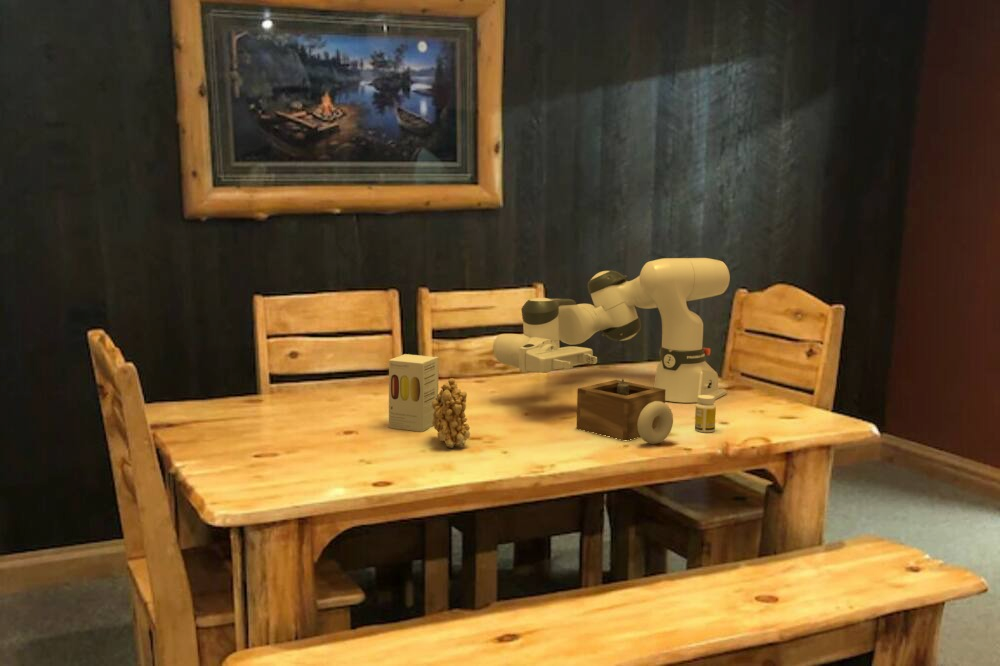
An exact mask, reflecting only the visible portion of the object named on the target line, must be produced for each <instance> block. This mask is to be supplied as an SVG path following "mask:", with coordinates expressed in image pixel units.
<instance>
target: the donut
mask: <svg viewBox="0 0 1000 666" xmlns="http://www.w3.org/2000/svg"><path fill="white" fill-rule="evenodd" d="M656 416H658V418H659V421H658V425H657V427H656V428H655V429H653V428H652V423H653V420H654V418H655V417H656ZM673 425H674V415H673V412H672V409H671V408H670V406H669V405H668V404H667V403H666V402H665V403H663V402H661V401H654V402H652V403H649V404H648V405H646V406H645V407H644V408H643V410H642V411H641V413H640V415H639V418H638V424H637V426H638V432H639V435H640V437H639V438H641V439H642V441H644V442H646V443H647V444H650V445H657V444H660V443H661V442H664V440H665V439H667V438H668V436H669V434H671V431H672V428H673Z"/></svg>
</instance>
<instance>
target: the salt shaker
mask: <svg viewBox="0 0 1000 666" xmlns="http://www.w3.org/2000/svg"><path fill="white" fill-rule="evenodd" d="M621 381H622V382H620V383H618V384H617V394H620V395H625V396H626V395H629V385H628V384H627V383H625V382H626V381H625V379H624V378H622V379H621ZM624 381H625V382H624Z"/></svg>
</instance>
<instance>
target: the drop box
mask: <svg viewBox="0 0 1000 666" xmlns="http://www.w3.org/2000/svg"><path fill="white" fill-rule="evenodd" d="M620 382H622V380H619V379H614V380H609V381H608V380H607V381H605V382H601V383H596V384H595V383H594V384H592V385H588V386H582V387H578V388H577V393H576V394H577V396H576V397H577V398H576V401H577V402H576V429H577V430H579V429H581V431H583V430H585V431H584V432H587V431H589V432H588V433H591V432H594V433H593V434H595V433H597V434H596V435H599V434H601V435H600V436H603V435H606V436H605V437H607V436H610V437H609V438H611V437H613V438H612V439H615V438H617V439H616V440H619V439H621V440H620V441H623V440H629V441H631V440H630V439H632V440H635V439H634V438H636V439H638V438H637V437H639V438H641V437H640V435H639V432H638V426H637V424H638V418H639V415H640V413H641V411H642V410H643V408H644V407H645V406H646V405H648V404H649V403H652V402H654V401H661V402H663V403H665V404H666V400H665V392H666V390H665V389H660V388H655V387H654V386H650V385H644V384H639V383H635V382H634V383H633V382H629V381H625V380H624V382H625V383H627V384H628V385H629V395H626V396H625V395H620V394H617V384H618V383H620ZM658 421H659V418H658V416H656V417H655V418H654V420H653V423H652V428H653V429H655V428H656V427H657V425H658Z"/></svg>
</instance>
